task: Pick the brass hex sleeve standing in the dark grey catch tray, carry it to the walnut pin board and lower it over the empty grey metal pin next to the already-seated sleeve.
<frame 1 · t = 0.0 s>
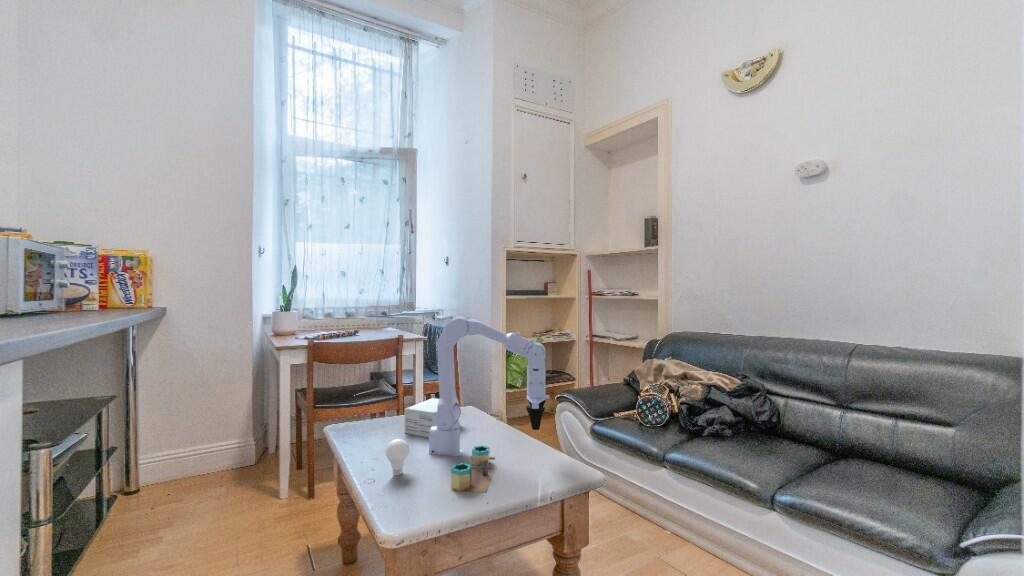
hand: (536, 425, 136), 10 cm above the table, fingers open, 7 cm apart
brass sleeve: (481, 465, 129), point 1 cm above the table, touching catch tray
seated sleeve: (461, 486, 114), point 1 cm above the table, touching pin board
lightbulb: (397, 479, 122), on the table
catch tray: (481, 467, 129), on the table
supplement box: (432, 429, 164), on the table
pin board: (473, 485, 117), on the table
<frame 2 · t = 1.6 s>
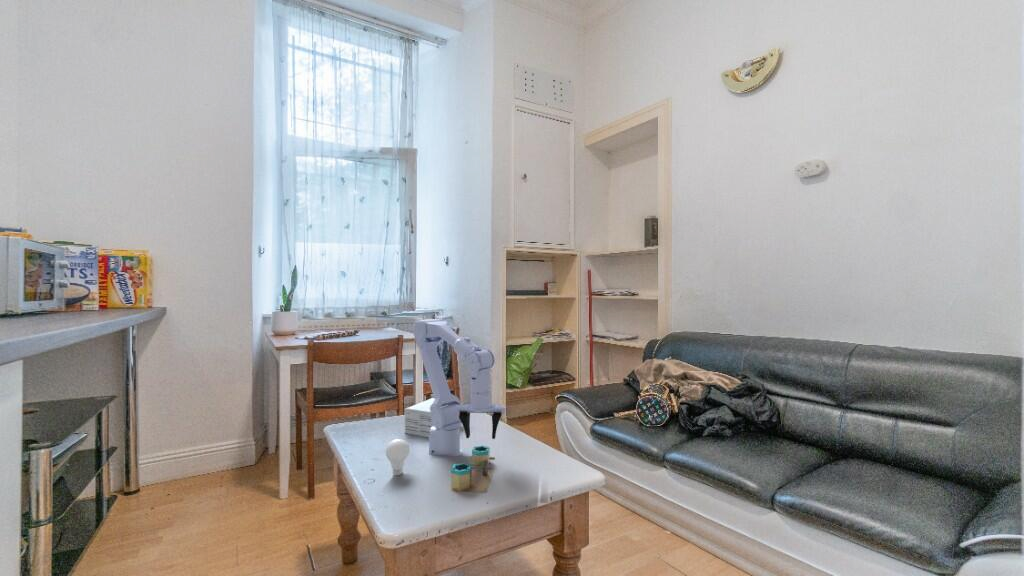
hand: (480, 437, 129), 9 cm above the table, fingers open, 7 cm apart
nothing on the table moved.
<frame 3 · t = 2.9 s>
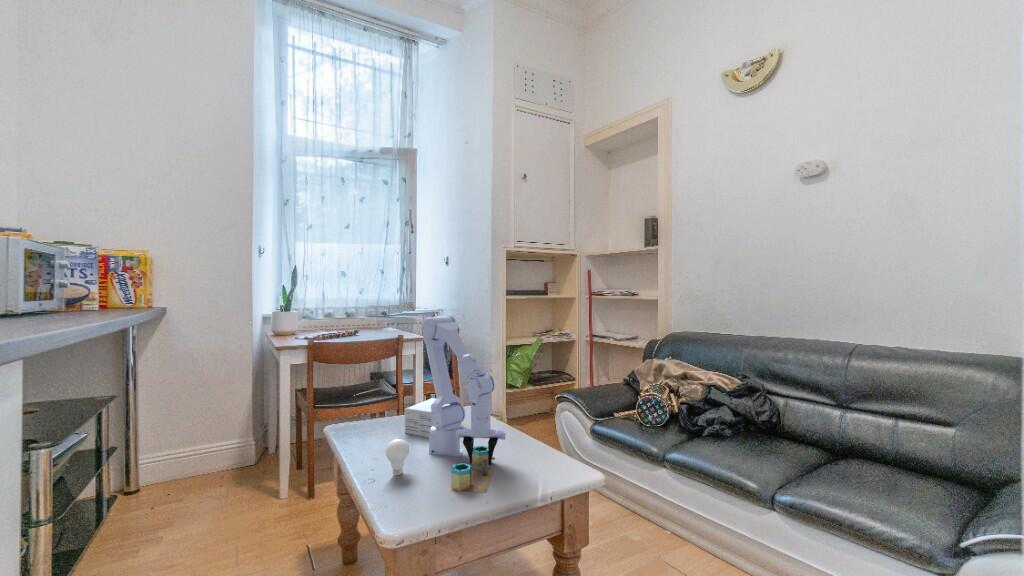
hand: (480, 462, 129), 2 cm above the table, fingers closed on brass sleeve, 5 cm apart
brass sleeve: (481, 465, 129), point 1 cm above the table, touching catch tray, gripper
everything else where it was.
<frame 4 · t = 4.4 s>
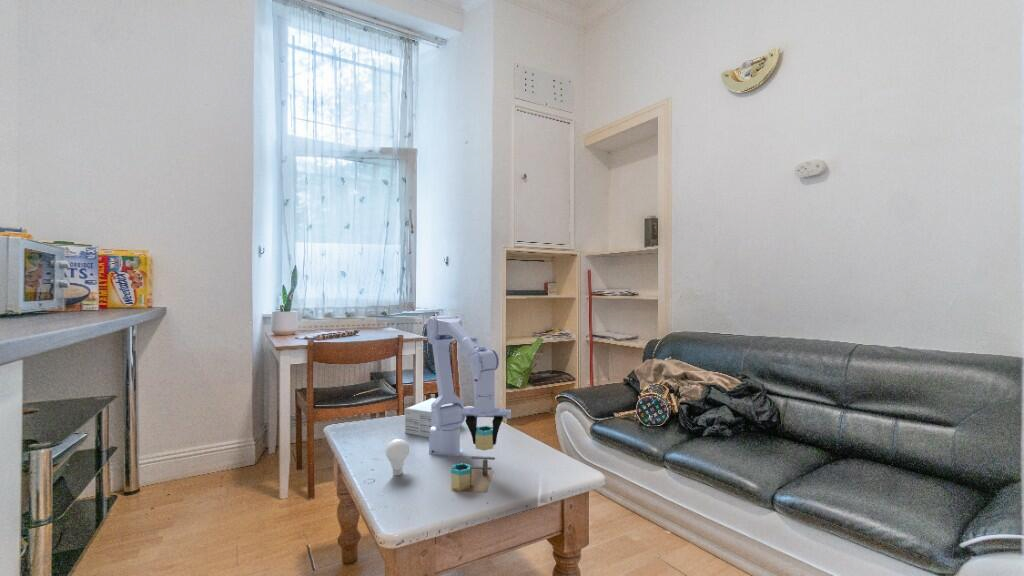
hand: (484, 443, 121), 10 cm above the table, fingers closed on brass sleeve, 5 cm apart
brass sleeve: (484, 446, 121), point 9 cm above the table, touching gripper
everything else where it was.
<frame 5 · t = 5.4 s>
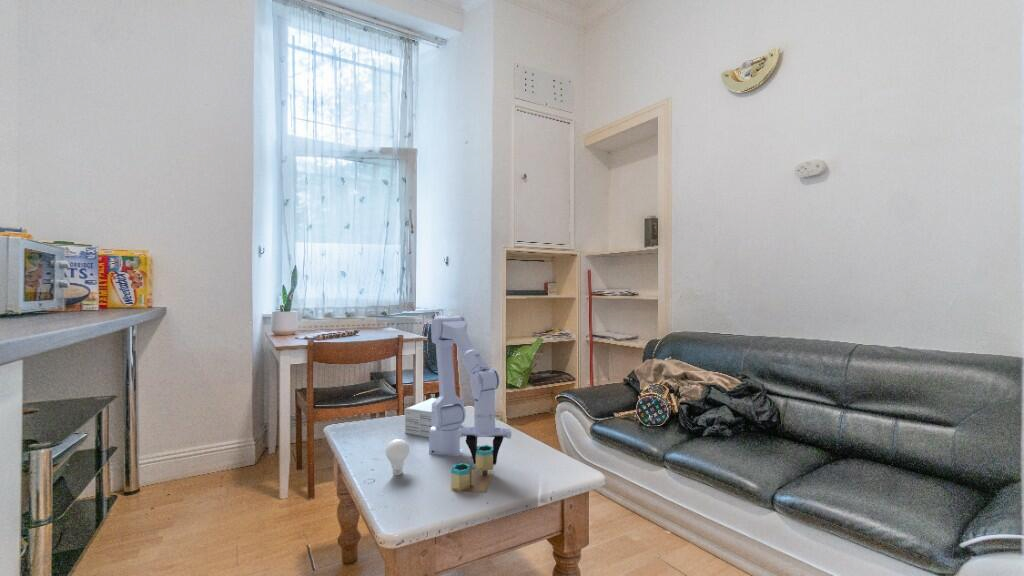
hand: (485, 462, 121), 5 cm above the table, fingers closed on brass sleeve, 5 cm apart
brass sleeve: (485, 466, 121), point 4 cm above the table, touching gripper
everything else where it was.
when the fingers open (3 cm above the table, at t = 6.2 s): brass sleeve stays where it is, resting on pin board.
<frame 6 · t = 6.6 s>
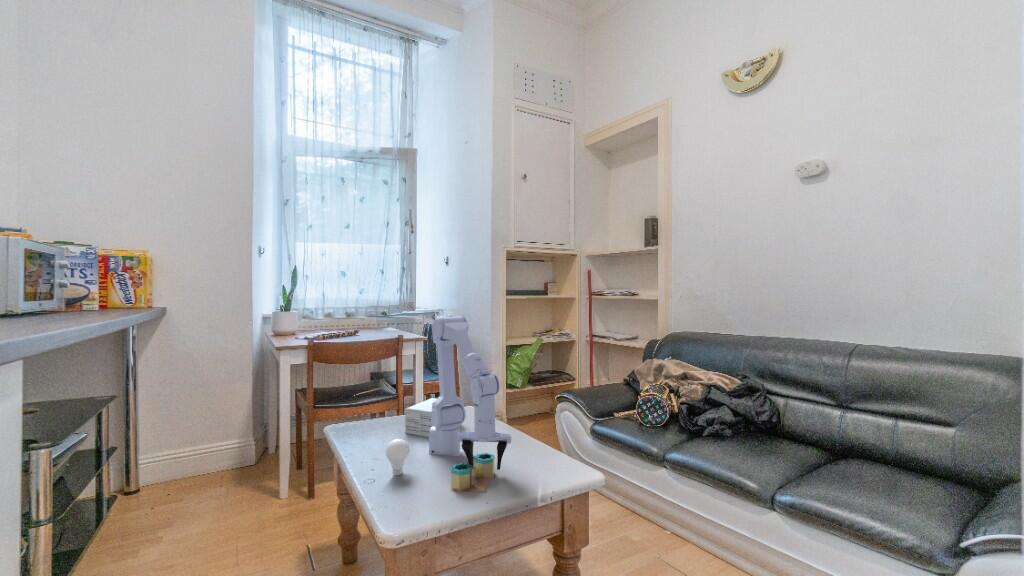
hand: (485, 467, 121), 3 cm above the table, fingers open, 7 cm apart
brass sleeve: (485, 474, 121), point 1 cm above the table, touching pin board
everything else where it was.
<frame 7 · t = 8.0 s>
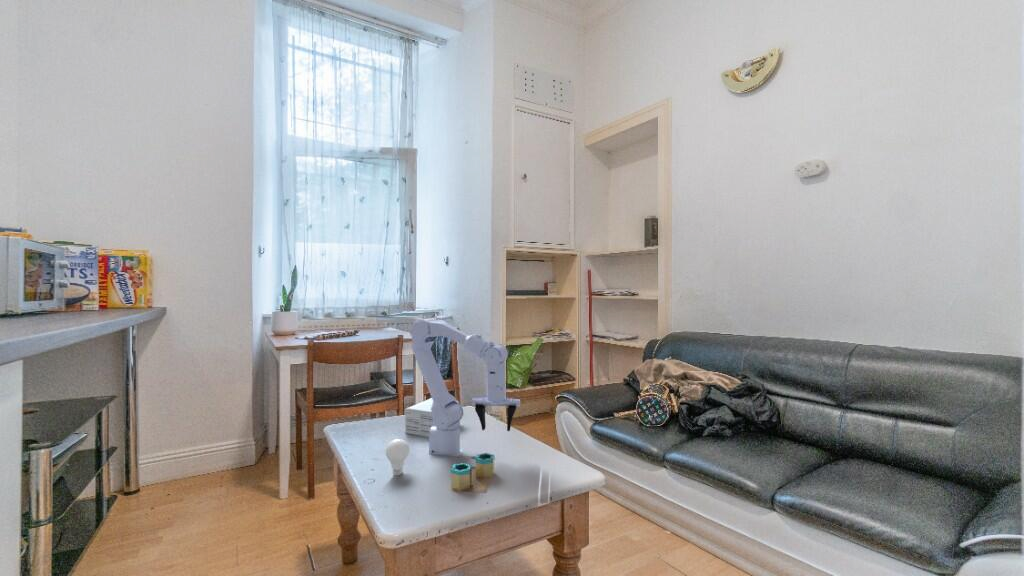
hand: (496, 429, 133), 10 cm above the table, fingers open, 7 cm apart
nothing on the table moved.
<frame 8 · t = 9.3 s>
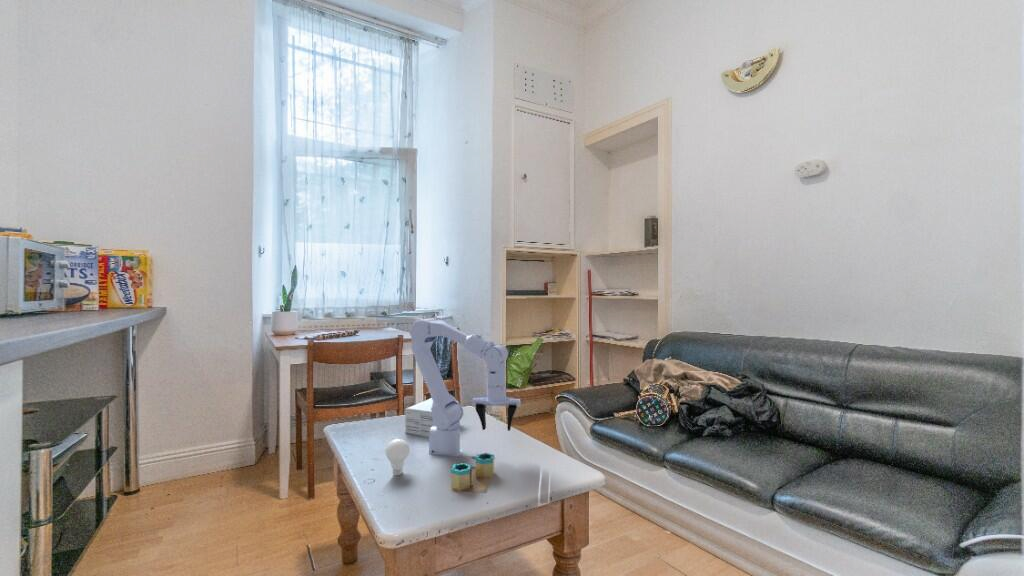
hand: (496, 429, 133), 10 cm above the table, fingers open, 7 cm apart
nothing on the table moved.
at the end: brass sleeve 0.0 cm from the target spot on the pin board, point 1.5 cm above the pin board's base; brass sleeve tilted 0°; seated sleeve moved 0.0 cm from its start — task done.
